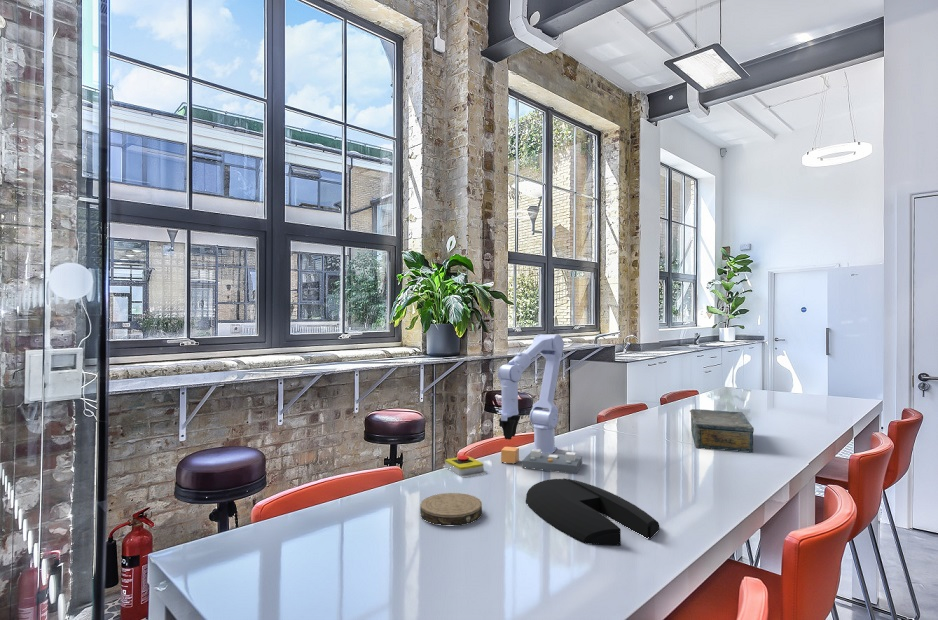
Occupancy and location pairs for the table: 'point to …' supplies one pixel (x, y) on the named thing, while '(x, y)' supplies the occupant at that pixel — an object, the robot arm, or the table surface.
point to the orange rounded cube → (510, 454)
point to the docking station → (587, 511)
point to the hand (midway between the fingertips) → (510, 437)
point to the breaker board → (553, 461)
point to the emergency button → (465, 466)
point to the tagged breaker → (553, 457)
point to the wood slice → (451, 509)
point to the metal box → (721, 430)
